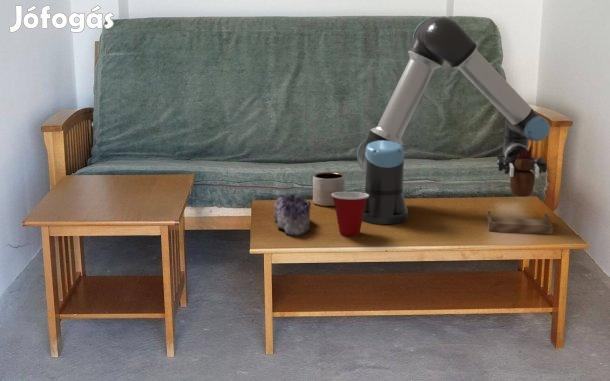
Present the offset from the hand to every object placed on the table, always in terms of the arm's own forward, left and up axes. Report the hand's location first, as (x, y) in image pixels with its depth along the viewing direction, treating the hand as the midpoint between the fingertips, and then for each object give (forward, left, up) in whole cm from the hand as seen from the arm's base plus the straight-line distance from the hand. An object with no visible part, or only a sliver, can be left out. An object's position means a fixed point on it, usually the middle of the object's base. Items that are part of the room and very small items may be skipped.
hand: (524, 172), depth 199 cm
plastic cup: (-49, -11, -18) cm, 53 cm away
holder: (0, +5, -17) cm, 18 cm away
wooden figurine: (0, +5, -8) cm, 10 cm away
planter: (-61, +22, -18) cm, 67 cm away
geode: (-66, -7, -18) cm, 69 cm away
